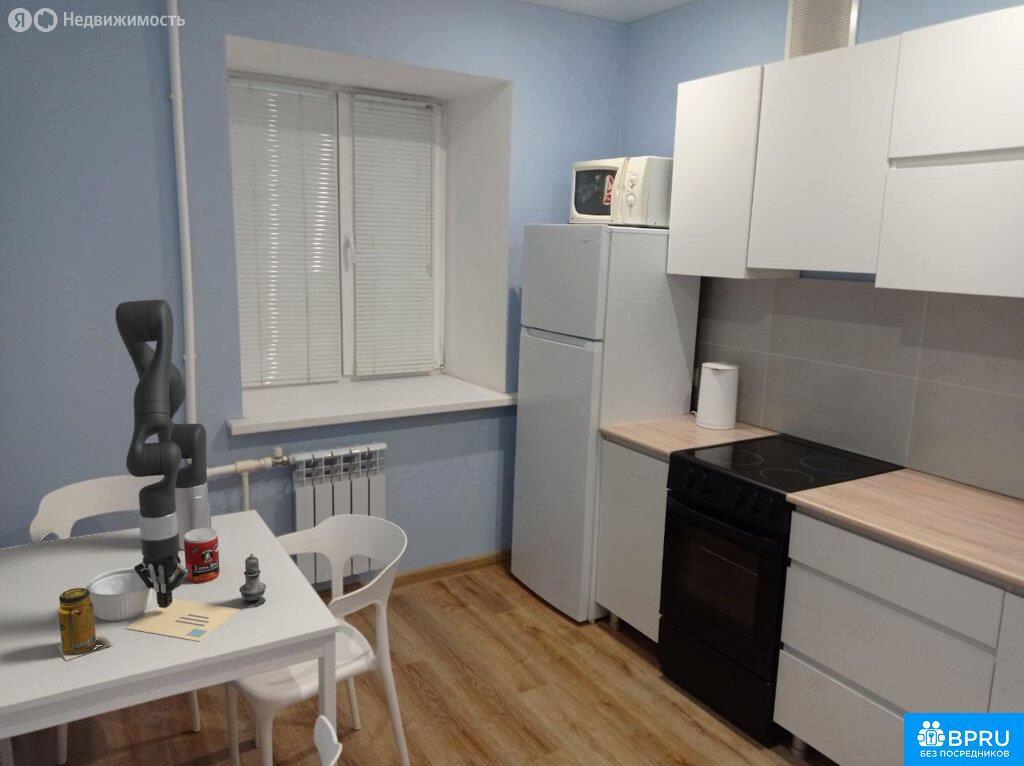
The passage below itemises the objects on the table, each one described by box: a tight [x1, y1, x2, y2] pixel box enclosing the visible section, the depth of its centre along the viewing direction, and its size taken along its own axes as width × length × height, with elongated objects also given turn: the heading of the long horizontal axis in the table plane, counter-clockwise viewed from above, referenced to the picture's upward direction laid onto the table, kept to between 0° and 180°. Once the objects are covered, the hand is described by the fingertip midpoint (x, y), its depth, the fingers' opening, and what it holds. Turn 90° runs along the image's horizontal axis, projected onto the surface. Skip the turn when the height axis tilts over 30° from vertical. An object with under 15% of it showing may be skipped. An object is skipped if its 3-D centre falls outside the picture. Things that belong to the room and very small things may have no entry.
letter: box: [125, 597, 240, 642], centre depth 164 cm, size 14×18×1 cm
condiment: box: [56, 587, 113, 661], centre depth 152 cm, size 7×8×12 cm
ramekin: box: [85, 567, 153, 622], centre depth 167 cm, size 13×13×7 cm
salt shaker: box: [238, 553, 267, 609], centre depth 171 cm, size 6×6×12 cm
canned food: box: [184, 528, 220, 584], centre depth 184 cm, size 8×8×11 cm
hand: (165, 606), depth 166 cm, fingers closed
